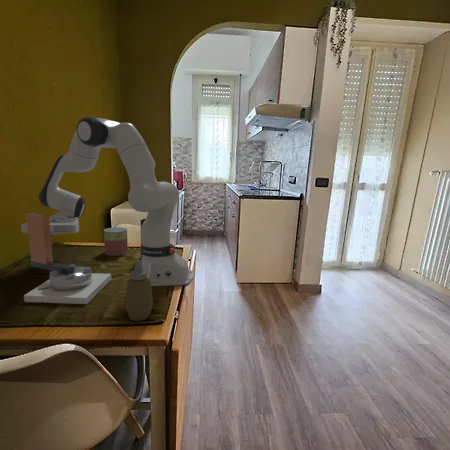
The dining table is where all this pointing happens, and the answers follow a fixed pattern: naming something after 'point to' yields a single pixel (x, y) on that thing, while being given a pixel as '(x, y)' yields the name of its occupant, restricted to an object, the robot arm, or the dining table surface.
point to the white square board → (68, 292)
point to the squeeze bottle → (139, 294)
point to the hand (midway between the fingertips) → (42, 231)
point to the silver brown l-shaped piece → (42, 257)
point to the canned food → (115, 241)
